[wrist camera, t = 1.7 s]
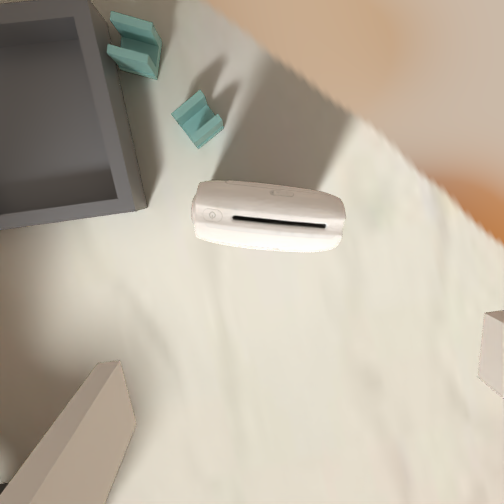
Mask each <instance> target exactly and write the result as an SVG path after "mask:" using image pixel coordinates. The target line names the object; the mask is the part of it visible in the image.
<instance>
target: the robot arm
mask: <svg viewBox="0 0 504 504" xmlns="http://www.w3.org/2000/svg"><path fill="white" fill-rule="evenodd" d="M477 377H478V378H479V379H480V380H481V381H482V382H484V383H485V384H486V385H487V386H489V387H490V388H491V389H492V390H493V391H495V392H496V393H497V394H498V395H500V396H501V397H502V398H503V399H504V310H501V311H494V312H486V313H484V321H483V330H482V339H481V348H480V358H479V367H478V376H477ZM135 427H136V420H135V416H134V412H133V408H132V405H131V401H130V397H129V393H128V389H127V385H126V382H125V378H124V374H123V370H122V366H121V363H120V360H118V361H110V362H103V363H97V365H96V366H95V368H94V369H93V370H92V372H91V373H90V374H89V376H88V377H87V378H86V380H85V381H84V382H83V384H82V385H81V386H80V388H79V389H78V391H77V392H76V393H75V395H74V396H73V397H72V399H71V400H70V401H69V403H68V404H67V405H66V407H65V408H64V409H63V411H62V412H61V413H60V415H59V416H58V418H57V419H56V420H55V422H54V423H53V424H52V426H51V427H50V428H49V430H48V431H47V432H46V434H45V435H44V436H43V438H42V439H41V440H40V442H39V443H38V445H37V446H36V447H35V449H34V450H33V451H32V453H31V454H30V455H29V457H28V458H27V459H26V461H25V462H24V463H23V465H22V466H21V467H20V469H19V470H18V472H17V473H16V474H15V476H14V477H13V478H12V480H11V481H10V482H9V483H5V484H0V504H105V502H106V500H107V497H108V495H109V492H110V490H111V487H112V485H113V482H114V480H115V477H116V475H117V472H118V470H119V467H120V465H121V462H122V460H123V457H124V455H125V452H126V450H127V447H128V445H129V442H130V439H131V437H132V434H133V432H134V429H135Z"/></svg>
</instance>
